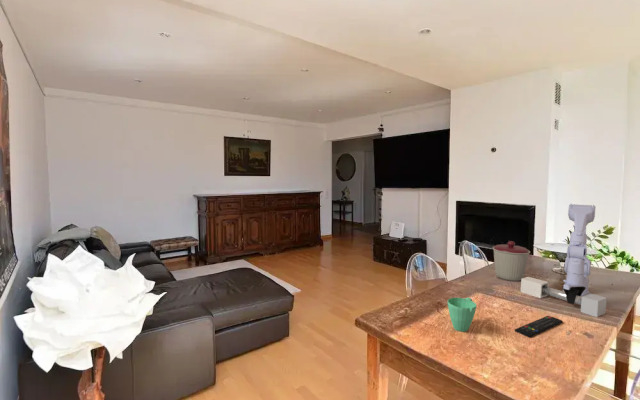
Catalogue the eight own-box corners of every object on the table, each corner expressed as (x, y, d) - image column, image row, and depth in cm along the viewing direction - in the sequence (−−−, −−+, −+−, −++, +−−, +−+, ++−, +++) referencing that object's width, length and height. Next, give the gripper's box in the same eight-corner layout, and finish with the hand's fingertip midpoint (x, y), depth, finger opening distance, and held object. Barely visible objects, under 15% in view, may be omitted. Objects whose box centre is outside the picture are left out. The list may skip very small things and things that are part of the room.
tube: (538, 290, 152) (539, 283, 152) (595, 307, 133) (596, 299, 133) (534, 292, 151) (535, 284, 150) (591, 309, 131) (592, 301, 131)
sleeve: (527, 289, 158) (528, 276, 158) (547, 295, 150) (548, 282, 150) (520, 291, 155) (521, 278, 155) (540, 298, 147) (541, 284, 147)
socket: (589, 308, 137) (590, 293, 136) (605, 313, 132) (606, 297, 131) (580, 311, 133) (581, 296, 132) (596, 317, 128) (598, 301, 128)
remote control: (514, 332, 116) (515, 329, 116) (548, 318, 128) (548, 315, 127) (530, 339, 111) (530, 335, 111) (563, 323, 123) (563, 320, 123)
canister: (528, 276, 179) (530, 240, 177) (528, 286, 164) (531, 246, 162) (492, 271, 188) (493, 236, 187) (489, 279, 173) (491, 242, 172)
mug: (470, 338, 110) (472, 310, 110) (442, 329, 117) (443, 303, 116) (481, 323, 121) (483, 298, 121) (455, 316, 128) (456, 292, 127)
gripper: (572, 267, 144) (570, 296, 146) (556, 272, 138) (554, 302, 139) (591, 272, 138) (589, 302, 139) (575, 277, 131) (573, 308, 132)
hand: (572, 302), depth 139 cm, fingers closed on tube, 3 cm apart
